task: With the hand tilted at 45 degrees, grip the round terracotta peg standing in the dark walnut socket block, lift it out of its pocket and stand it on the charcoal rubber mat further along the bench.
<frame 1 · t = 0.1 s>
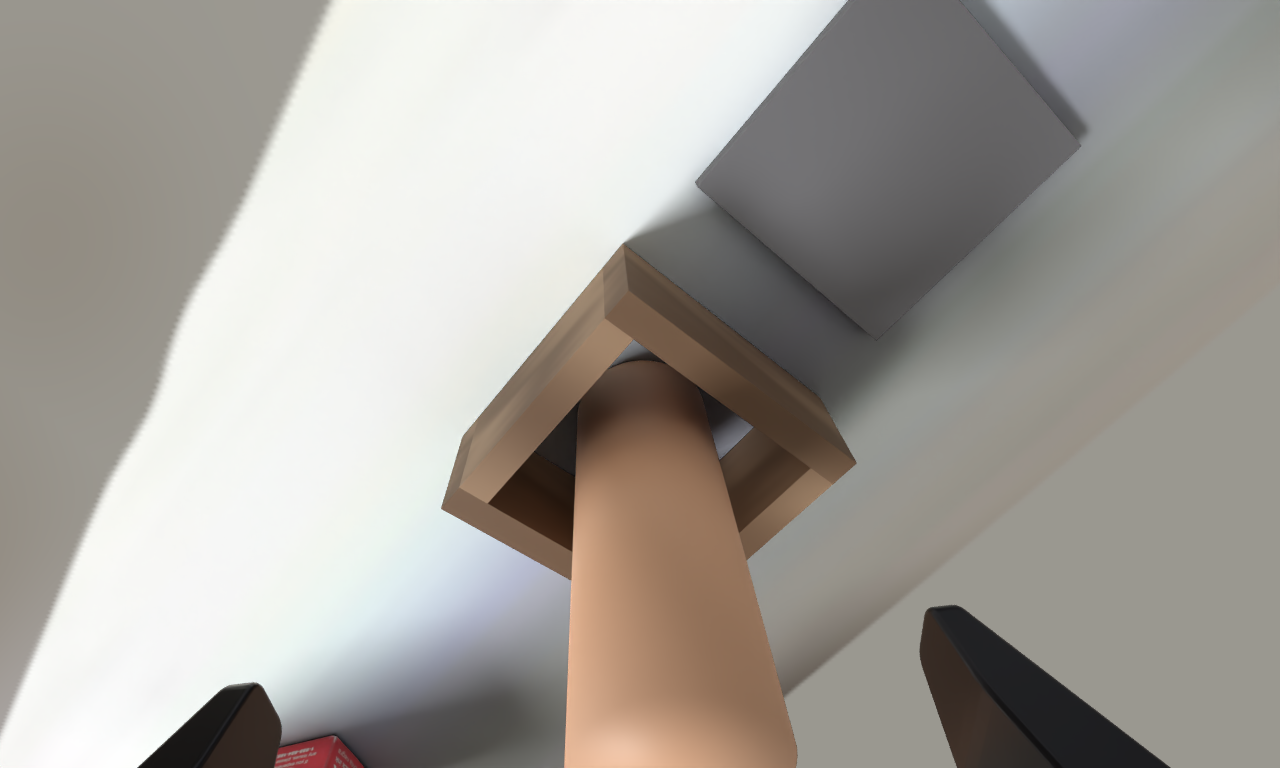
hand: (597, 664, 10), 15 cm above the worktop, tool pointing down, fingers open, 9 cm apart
socket block: (641, 417, 25), on the worktop
peg: (655, 540, 19), in the socket block
mat: (882, 162, 21), on the worktop
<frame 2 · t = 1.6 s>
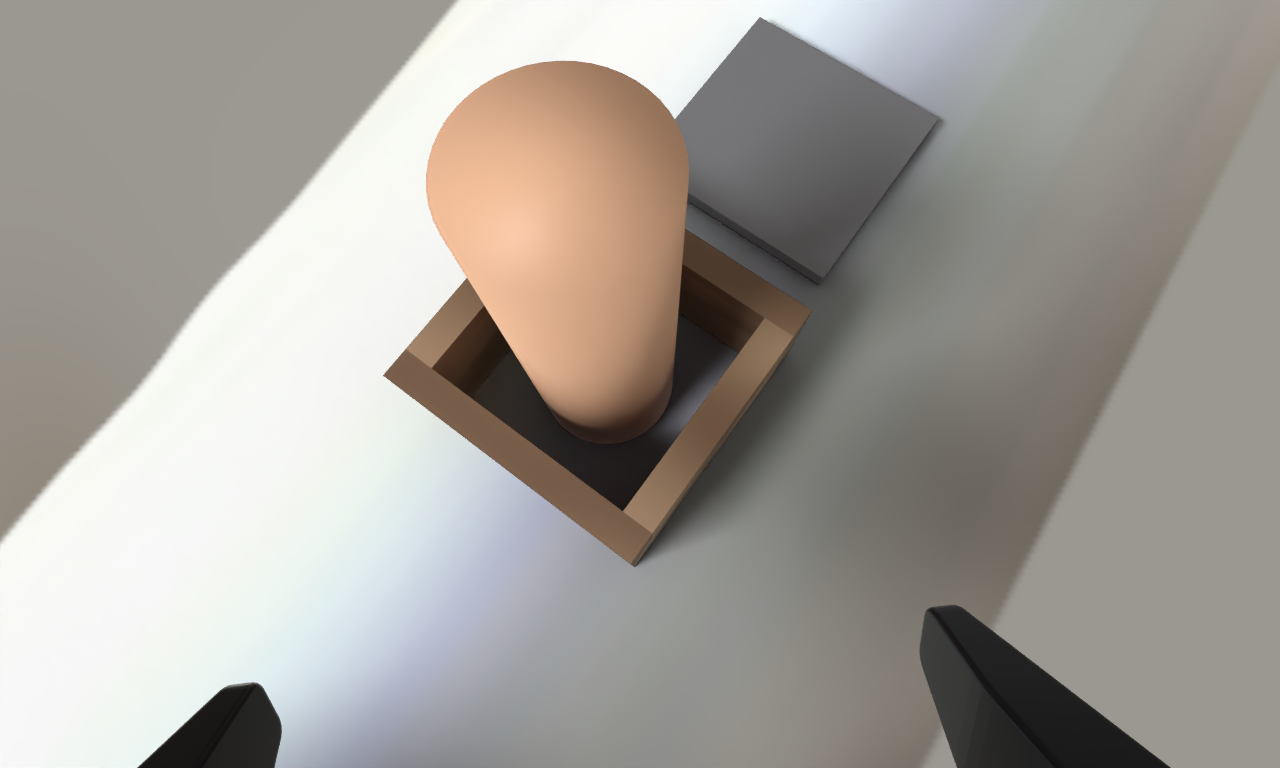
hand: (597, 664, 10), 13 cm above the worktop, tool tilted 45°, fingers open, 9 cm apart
socket block: (607, 380, 25), on the worktop
peg: (591, 311, 18), in the socket block
mat: (786, 149, 27), on the worktop
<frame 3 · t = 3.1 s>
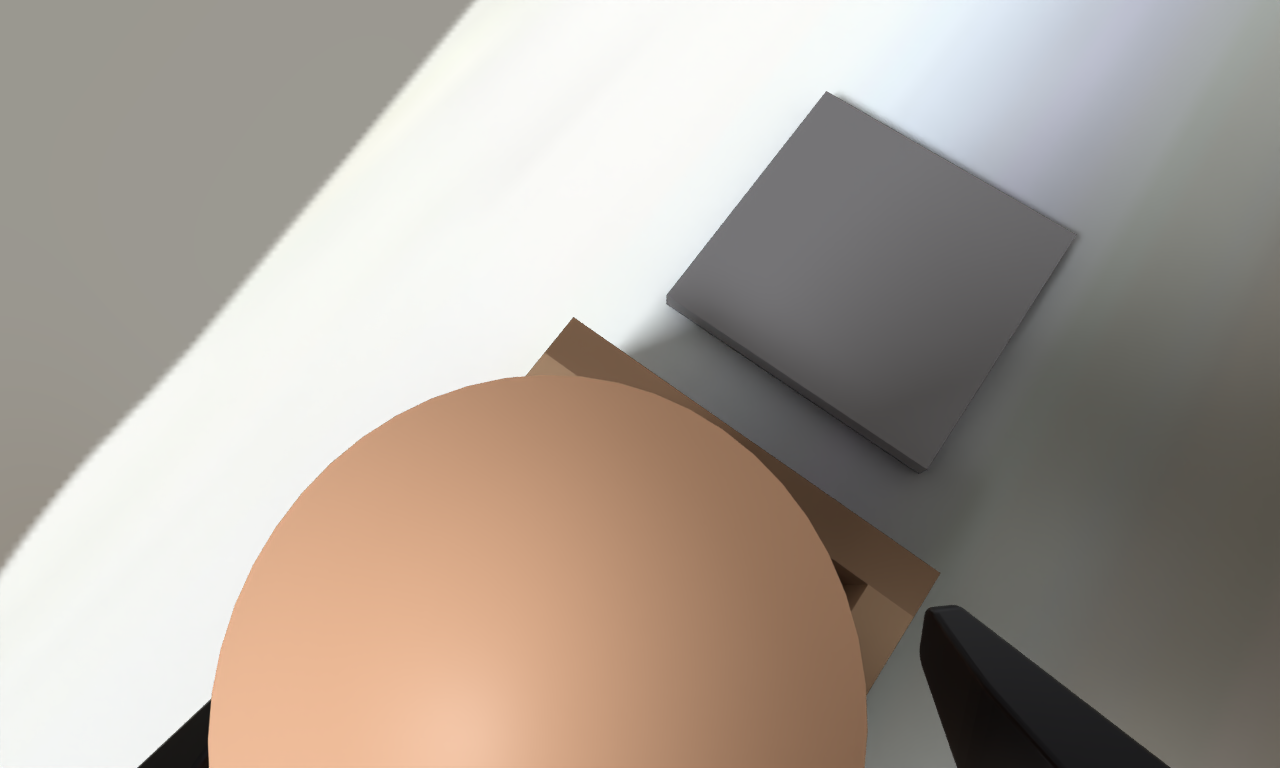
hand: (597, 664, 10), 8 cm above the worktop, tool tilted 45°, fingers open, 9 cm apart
socket block: (623, 616, 17), on the worktop
peg: (604, 632, 11), in the socket block
mat: (866, 274, 20), on the worktop
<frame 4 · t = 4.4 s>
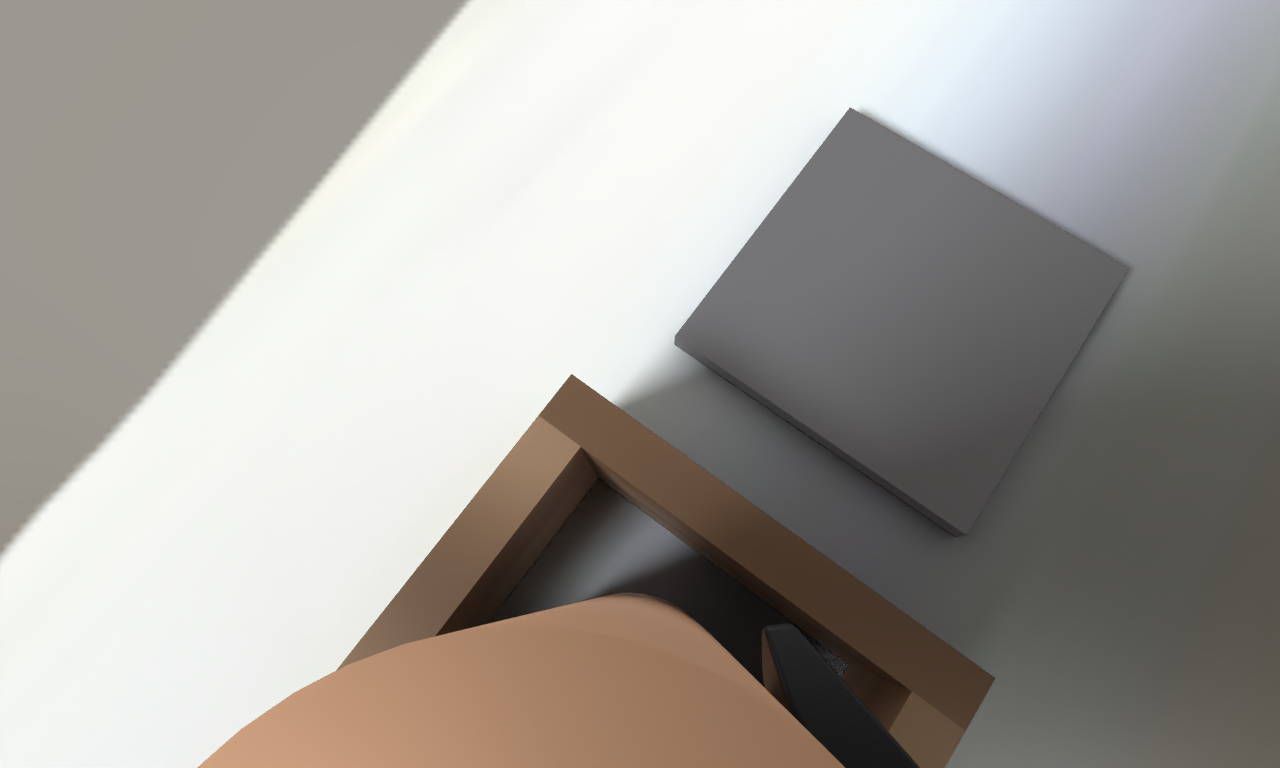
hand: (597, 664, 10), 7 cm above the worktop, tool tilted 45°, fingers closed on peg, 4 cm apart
socket block: (627, 699, 15), on the worktop
mat: (895, 311, 18), on the worktop
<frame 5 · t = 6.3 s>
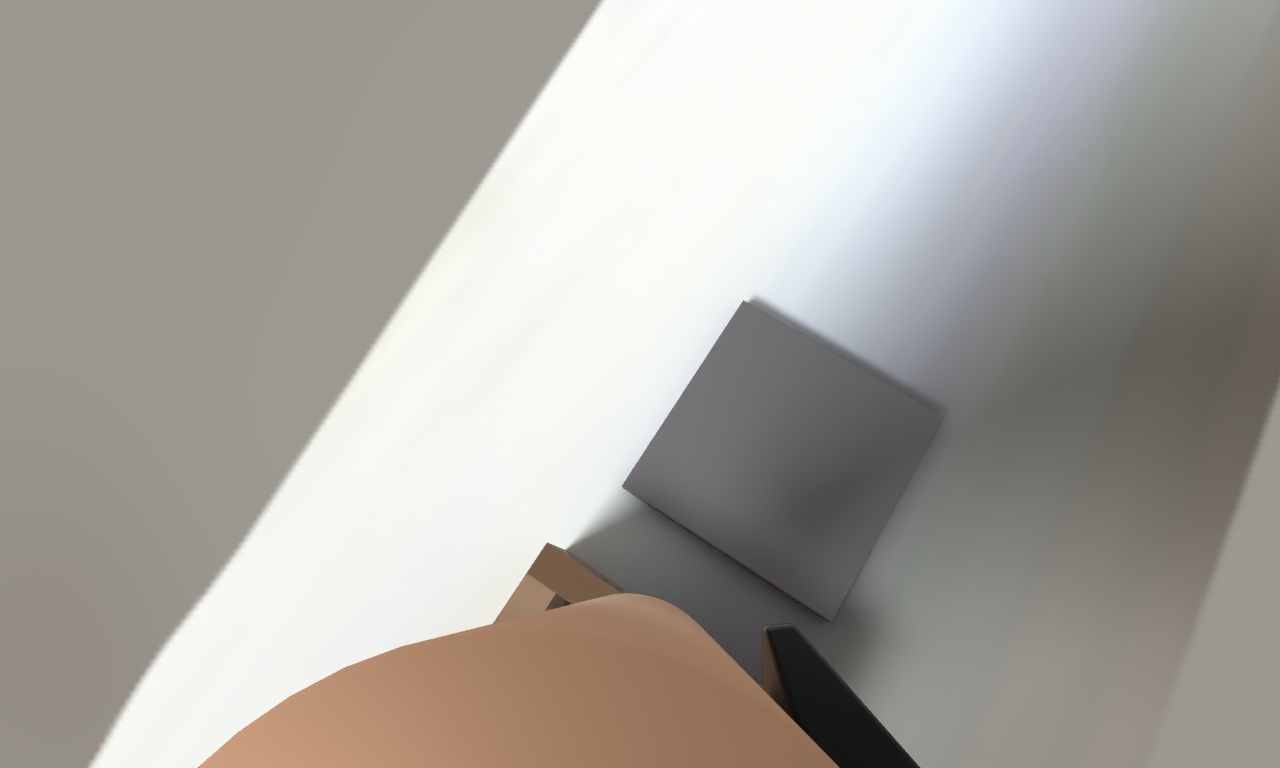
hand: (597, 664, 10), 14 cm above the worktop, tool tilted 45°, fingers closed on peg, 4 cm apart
socket block: (601, 753, 22), on the worktop
mat: (781, 453, 25), on the worktop
when the fingers open (9 cm above the worktop, at t = 8.5 s): peg drops 1 cm, resting on mat.
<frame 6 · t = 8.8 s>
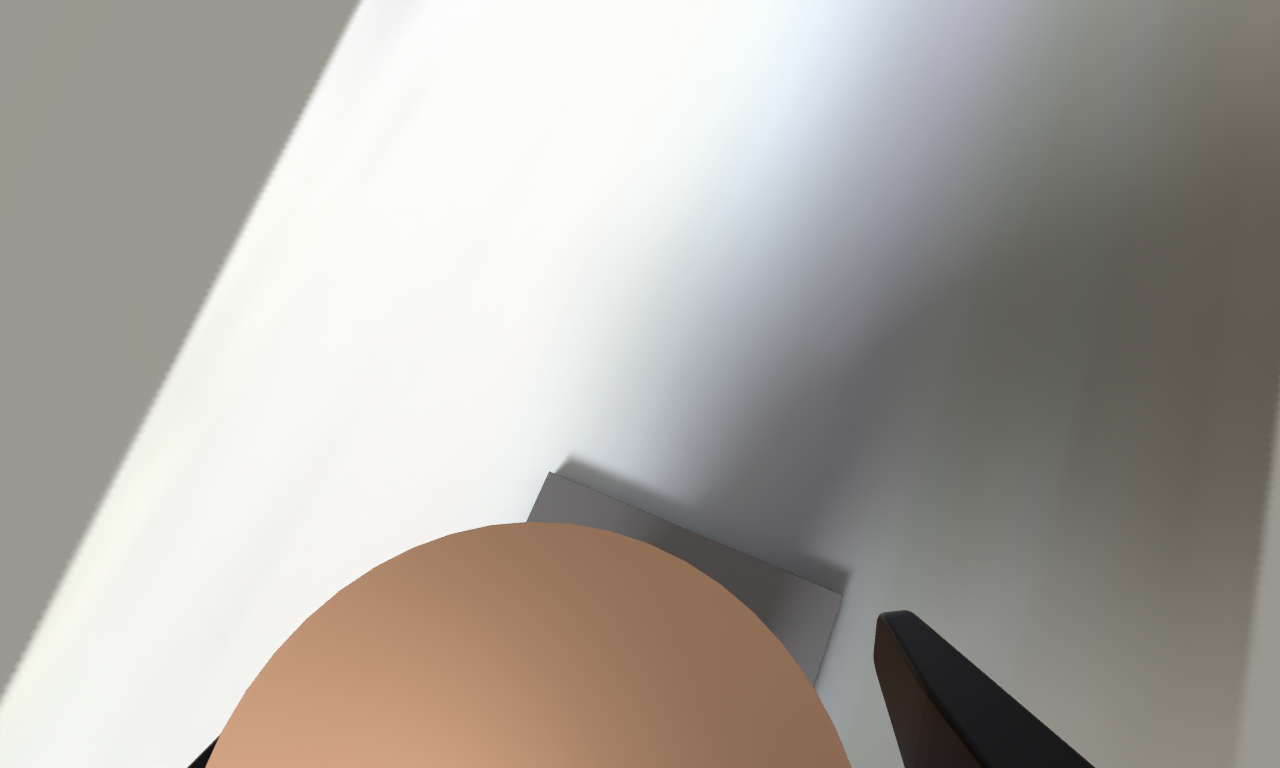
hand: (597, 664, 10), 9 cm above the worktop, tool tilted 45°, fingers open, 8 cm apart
peg: (606, 732, 11), on the mat, point 7 cm above the worktop
mat: (631, 685, 17), on the worktop
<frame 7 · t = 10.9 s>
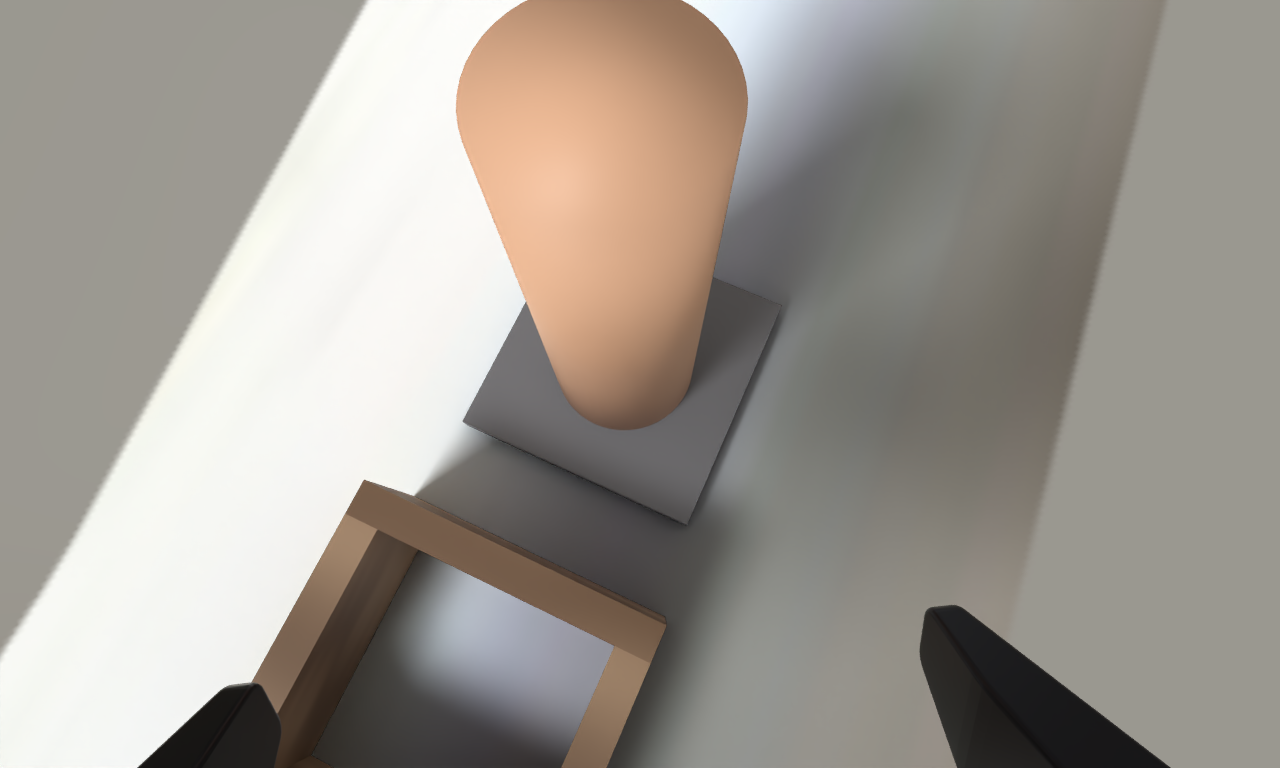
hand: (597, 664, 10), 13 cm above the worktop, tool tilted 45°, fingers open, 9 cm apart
socket block: (469, 693, 21), on the worktop
peg: (617, 279, 17), on the mat, point 7 cm above the worktop
mat: (625, 367, 24), on the worktop
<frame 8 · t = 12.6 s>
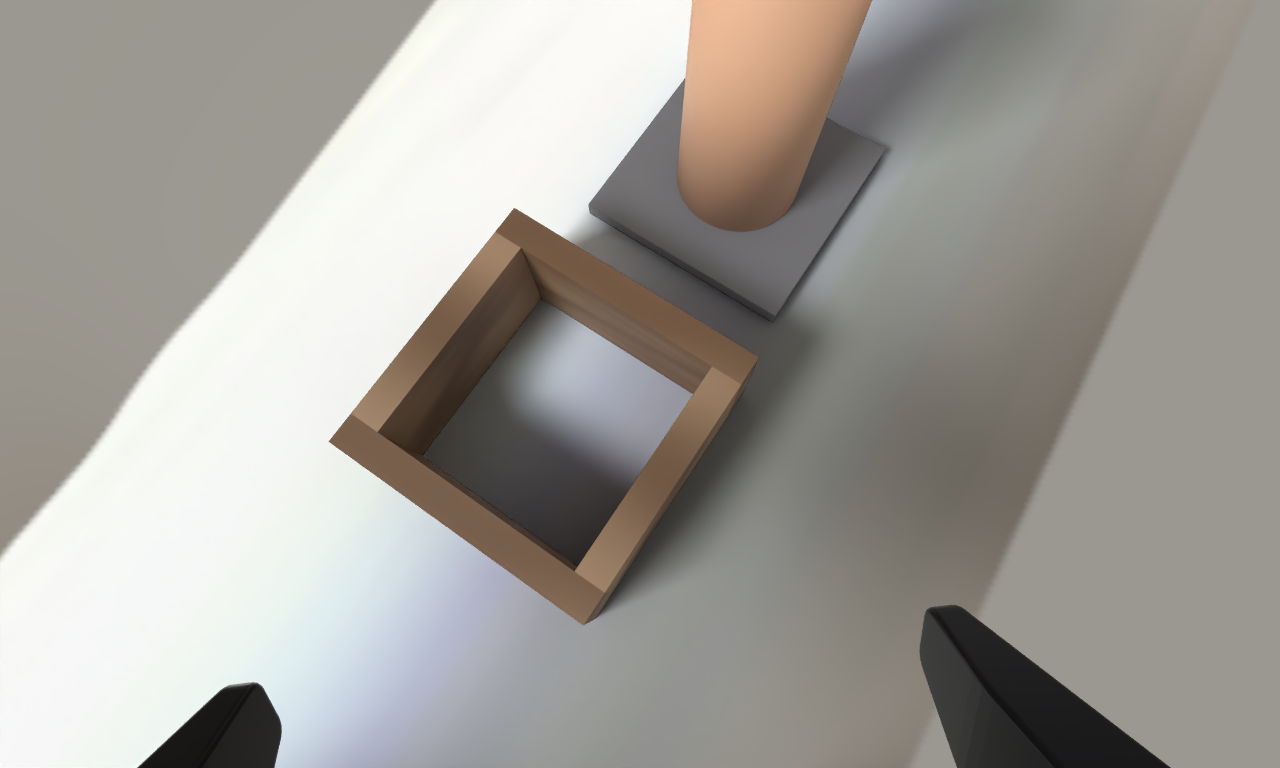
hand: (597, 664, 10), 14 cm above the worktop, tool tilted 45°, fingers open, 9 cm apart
socket block: (563, 428, 24), on the worktop
peg: (768, 46, 20), on the mat, point 7 cm above the worktop
mat: (736, 185, 27), on the worktop
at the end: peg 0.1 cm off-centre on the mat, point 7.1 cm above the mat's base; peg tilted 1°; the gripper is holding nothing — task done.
